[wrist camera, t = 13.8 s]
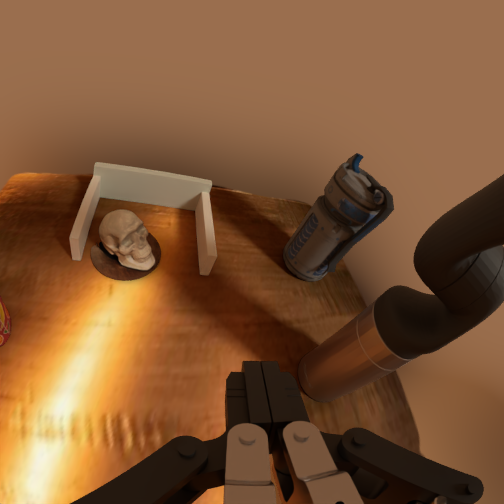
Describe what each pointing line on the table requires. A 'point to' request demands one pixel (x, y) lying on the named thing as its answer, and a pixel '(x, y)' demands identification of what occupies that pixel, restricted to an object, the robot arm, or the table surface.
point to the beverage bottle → (337, 221)
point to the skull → (125, 247)
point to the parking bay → (151, 192)
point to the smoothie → (4, 323)
